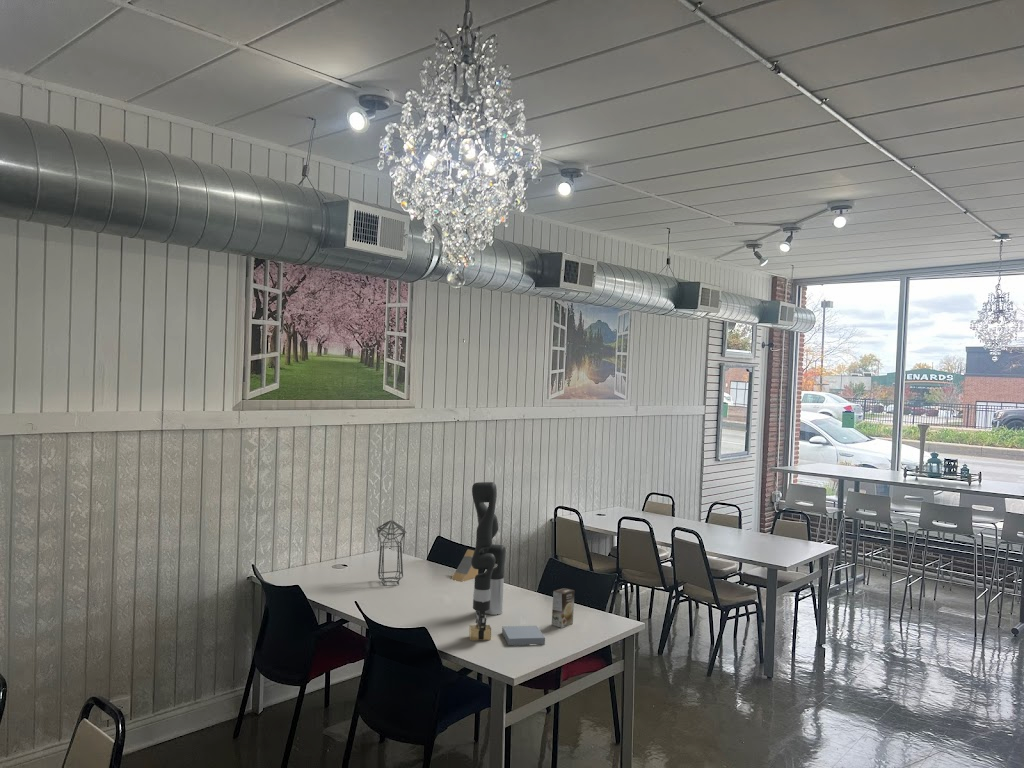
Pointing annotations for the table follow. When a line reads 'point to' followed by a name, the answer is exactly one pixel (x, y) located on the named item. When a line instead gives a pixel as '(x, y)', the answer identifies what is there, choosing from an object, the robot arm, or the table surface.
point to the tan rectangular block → (475, 632)
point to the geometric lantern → (390, 546)
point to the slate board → (523, 635)
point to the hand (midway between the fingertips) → (480, 636)
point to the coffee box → (563, 607)
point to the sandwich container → (465, 568)
